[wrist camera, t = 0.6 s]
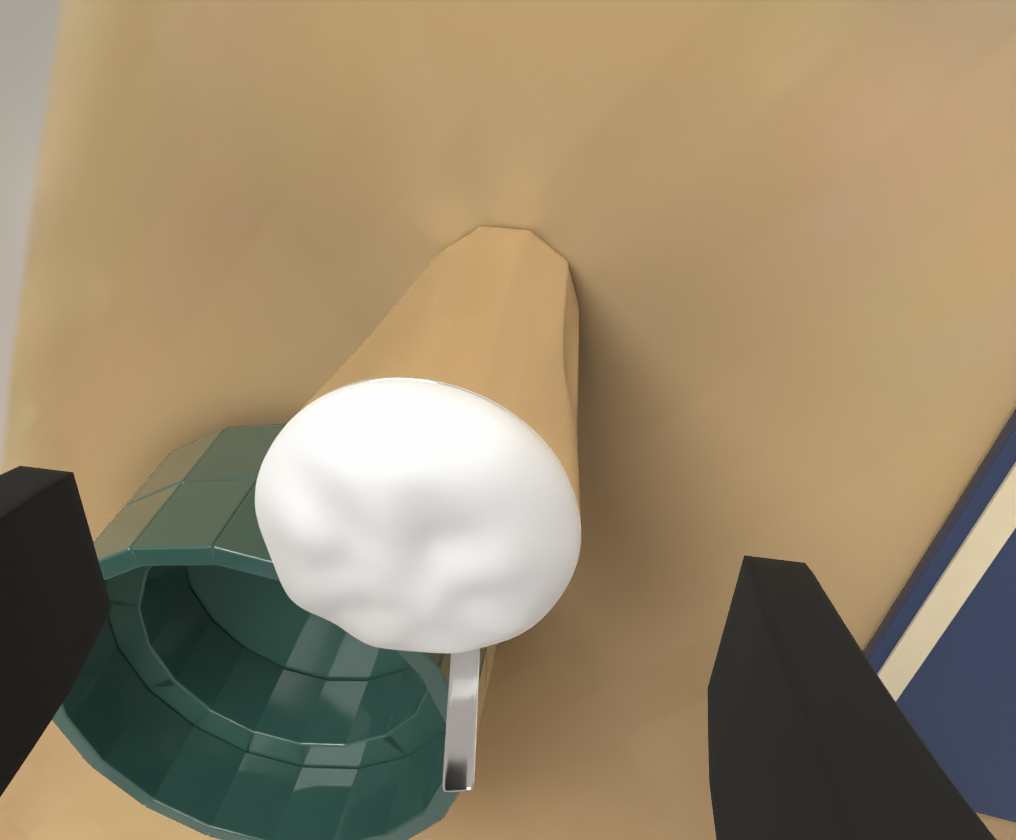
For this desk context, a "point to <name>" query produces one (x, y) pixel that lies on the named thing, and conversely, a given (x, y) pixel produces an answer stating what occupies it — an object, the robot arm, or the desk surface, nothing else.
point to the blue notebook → (963, 639)
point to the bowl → (248, 676)
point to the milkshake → (440, 469)
